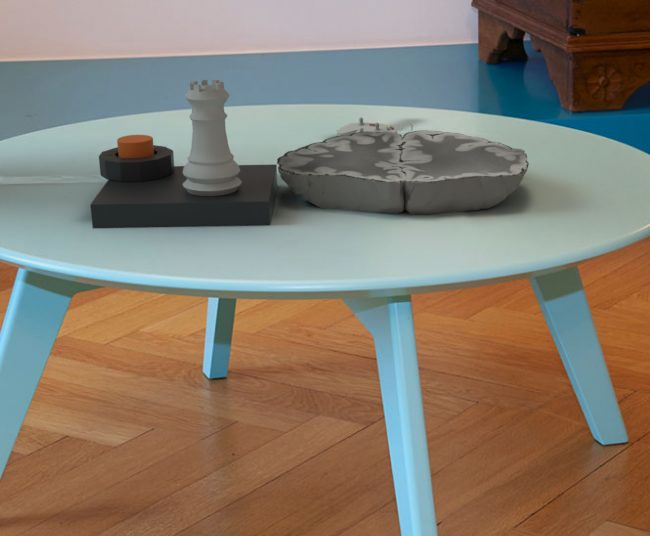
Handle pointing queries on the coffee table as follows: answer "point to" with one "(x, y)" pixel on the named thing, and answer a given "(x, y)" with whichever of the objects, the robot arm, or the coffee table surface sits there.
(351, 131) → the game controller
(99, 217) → the scale
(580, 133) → the coffee table surface
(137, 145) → the button
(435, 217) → the coffee table surface
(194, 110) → the rook chess piece
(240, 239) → the coffee table surface
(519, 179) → the brain slice
